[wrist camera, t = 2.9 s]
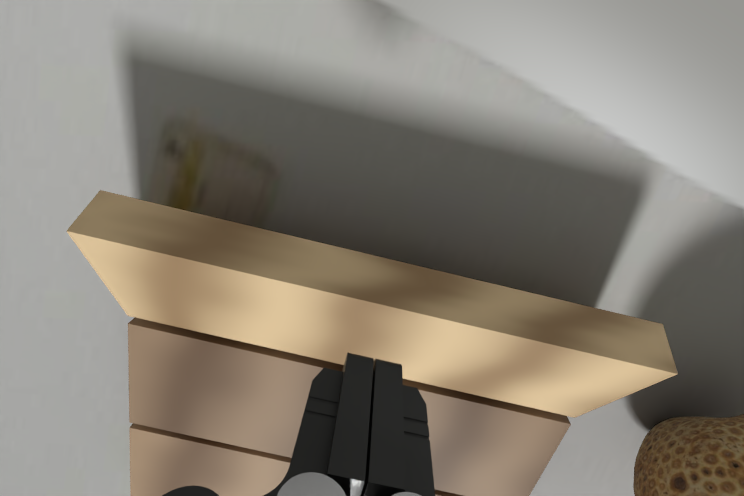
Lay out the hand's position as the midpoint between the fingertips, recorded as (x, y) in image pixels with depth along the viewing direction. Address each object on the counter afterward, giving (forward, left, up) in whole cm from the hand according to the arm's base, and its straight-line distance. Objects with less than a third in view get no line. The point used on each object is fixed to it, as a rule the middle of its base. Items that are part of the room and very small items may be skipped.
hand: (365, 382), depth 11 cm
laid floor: (0, +12, -9) cm, 15 cm away
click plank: (0, +1, -7) cm, 7 cm away
